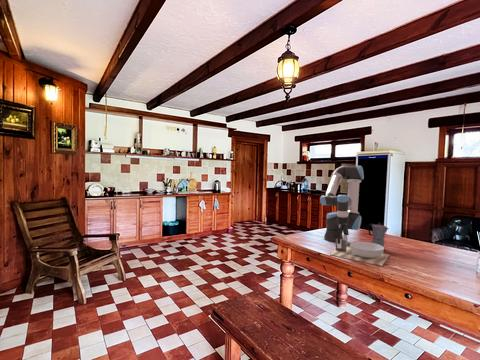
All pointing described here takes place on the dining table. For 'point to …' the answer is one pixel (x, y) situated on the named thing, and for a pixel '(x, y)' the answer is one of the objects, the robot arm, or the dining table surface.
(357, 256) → the serving board
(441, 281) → the dining table surface
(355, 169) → the robot arm
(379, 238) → the moka pot
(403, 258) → the dining table surface
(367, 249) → the serving bowl
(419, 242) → the dining table surface
